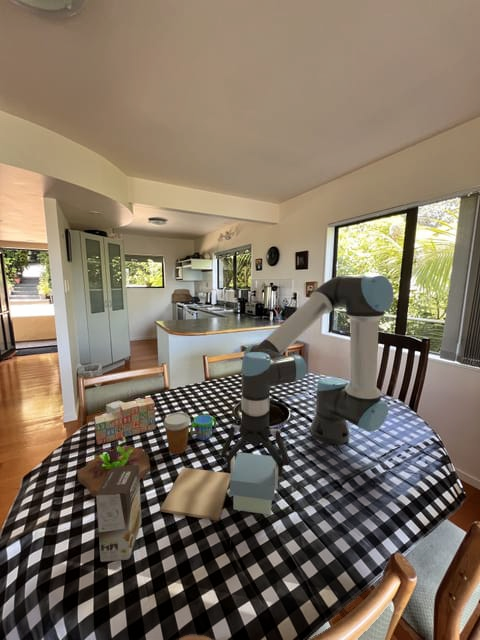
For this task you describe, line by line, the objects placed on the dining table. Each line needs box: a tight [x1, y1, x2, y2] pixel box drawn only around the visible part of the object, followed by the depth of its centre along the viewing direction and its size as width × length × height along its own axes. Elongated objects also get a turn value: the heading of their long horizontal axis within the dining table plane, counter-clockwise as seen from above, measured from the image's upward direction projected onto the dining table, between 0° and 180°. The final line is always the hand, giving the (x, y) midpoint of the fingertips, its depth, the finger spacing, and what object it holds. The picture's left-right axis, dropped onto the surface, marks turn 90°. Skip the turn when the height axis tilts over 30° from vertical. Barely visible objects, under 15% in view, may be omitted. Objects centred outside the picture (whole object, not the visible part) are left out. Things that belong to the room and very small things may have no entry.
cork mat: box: [159, 467, 231, 521], centre depth 76 cm, size 16×16×1 cm
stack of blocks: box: [94, 397, 156, 445], centre depth 104 cm, size 21×6×12 cm, turn 122°
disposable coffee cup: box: [163, 412, 191, 455], centre depth 95 cm, size 10×10×12 cm
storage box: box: [232, 495, 273, 516], centre depth 74 cm, size 10×10×8 cm
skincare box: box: [105, 400, 125, 414], centre depth 116 cm, size 6×6×7 cm
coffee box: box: [95, 465, 142, 562], centre depth 60 cm, size 9×6×16 cm
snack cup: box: [189, 414, 217, 441], centre depth 103 cm, size 11×8×7 cm
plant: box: [77, 436, 151, 498], centre depth 84 cm, size 20×20×11 cm
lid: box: [229, 451, 276, 502], centre depth 73 cm, size 12×12×4 cm
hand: (254, 482), depth 74 cm, fingers closed on lid, 12 cm apart
